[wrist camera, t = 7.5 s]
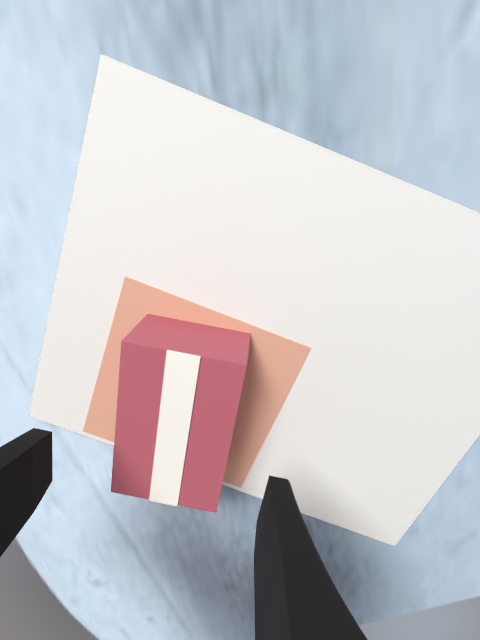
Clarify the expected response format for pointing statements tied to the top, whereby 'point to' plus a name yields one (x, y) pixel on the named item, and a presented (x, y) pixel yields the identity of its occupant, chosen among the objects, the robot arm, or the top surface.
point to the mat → (272, 299)
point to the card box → (177, 410)
